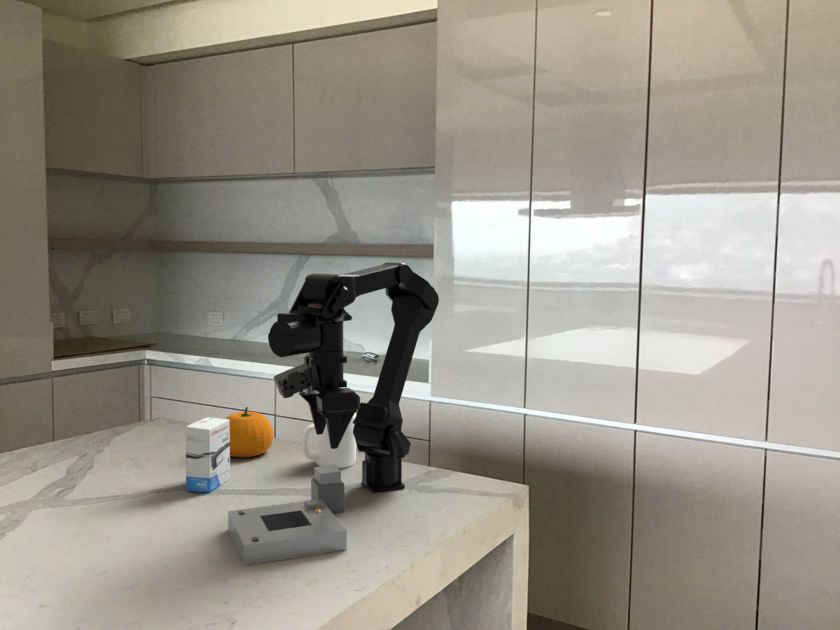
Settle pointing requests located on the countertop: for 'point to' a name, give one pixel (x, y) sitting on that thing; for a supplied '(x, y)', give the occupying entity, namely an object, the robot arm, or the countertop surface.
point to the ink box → (207, 454)
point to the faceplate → (285, 531)
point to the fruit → (249, 434)
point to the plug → (328, 487)
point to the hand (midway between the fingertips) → (326, 441)
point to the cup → (328, 456)
